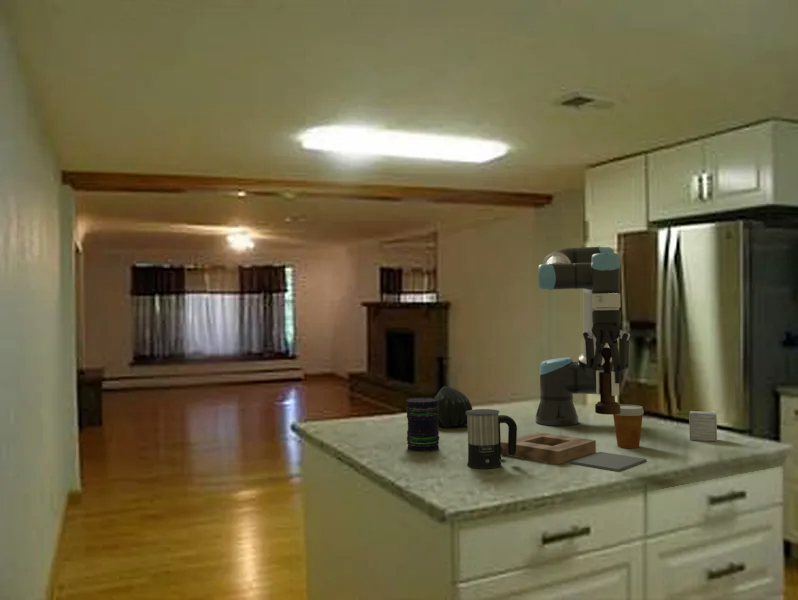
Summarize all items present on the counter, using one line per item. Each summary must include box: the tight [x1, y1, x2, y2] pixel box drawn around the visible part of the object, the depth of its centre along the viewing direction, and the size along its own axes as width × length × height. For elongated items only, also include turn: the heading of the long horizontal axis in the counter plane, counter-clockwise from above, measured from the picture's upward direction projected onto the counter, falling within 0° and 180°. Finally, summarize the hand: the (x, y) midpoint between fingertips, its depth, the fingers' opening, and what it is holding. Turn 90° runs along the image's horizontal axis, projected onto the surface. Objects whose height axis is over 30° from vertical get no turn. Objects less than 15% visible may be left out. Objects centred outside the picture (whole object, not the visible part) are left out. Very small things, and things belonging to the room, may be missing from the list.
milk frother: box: [466, 408, 518, 470], centre depth 197 cm, size 14×16×15 cm
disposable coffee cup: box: [612, 404, 645, 449], centre depth 215 cm, size 10×10×12 cm
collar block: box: [501, 431, 597, 465], centre depth 207 cm, size 20×20×4 cm
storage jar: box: [405, 397, 440, 453], centre depth 216 cm, size 10×10×15 cm
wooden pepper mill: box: [594, 346, 621, 416], centre depth 194 cm, size 7×6×18 cm
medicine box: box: [688, 410, 718, 443], centre depth 223 cm, size 8×4×9 cm, turn 65°
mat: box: [570, 451, 647, 472], centre depth 194 cm, size 14×16×1 cm
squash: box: [434, 385, 473, 429], centre depth 255 cm, size 14×15×15 cm
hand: (607, 394), depth 194 cm, fingers closed on wooden pepper mill, 4 cm apart
